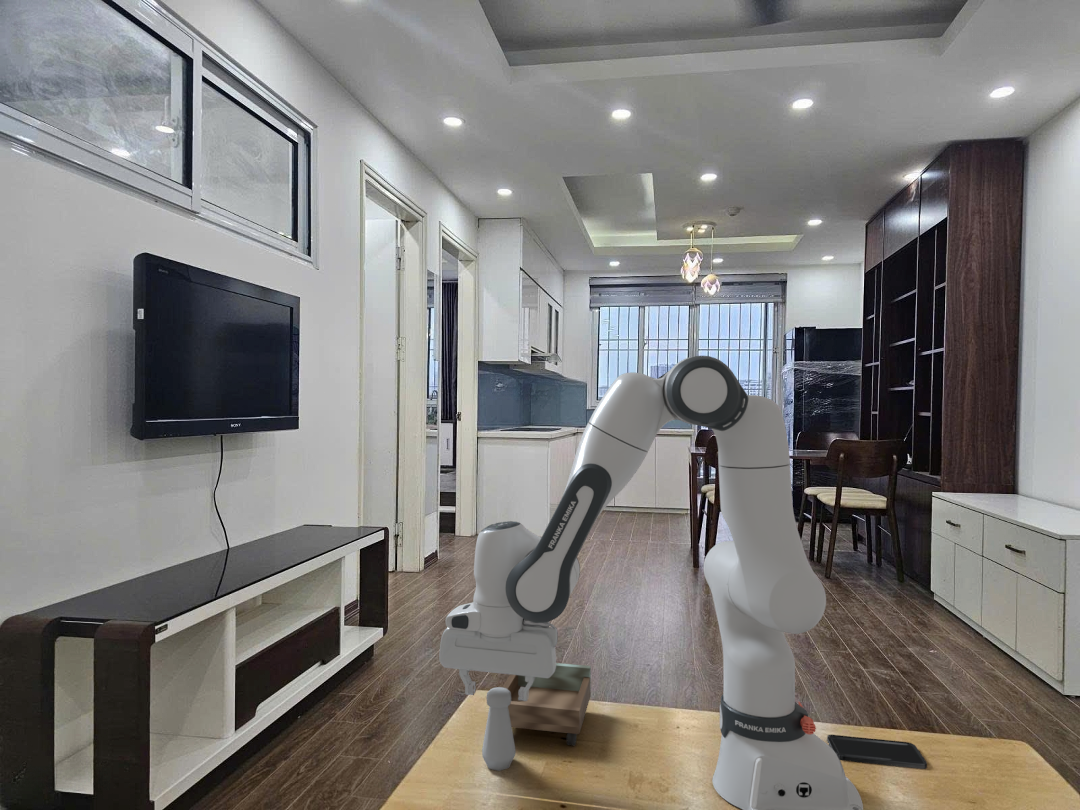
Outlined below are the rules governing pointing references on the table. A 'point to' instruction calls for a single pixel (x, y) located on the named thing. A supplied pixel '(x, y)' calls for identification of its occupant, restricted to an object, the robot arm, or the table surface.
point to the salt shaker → (498, 731)
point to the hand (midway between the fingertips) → (496, 696)
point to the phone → (877, 751)
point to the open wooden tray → (552, 701)
